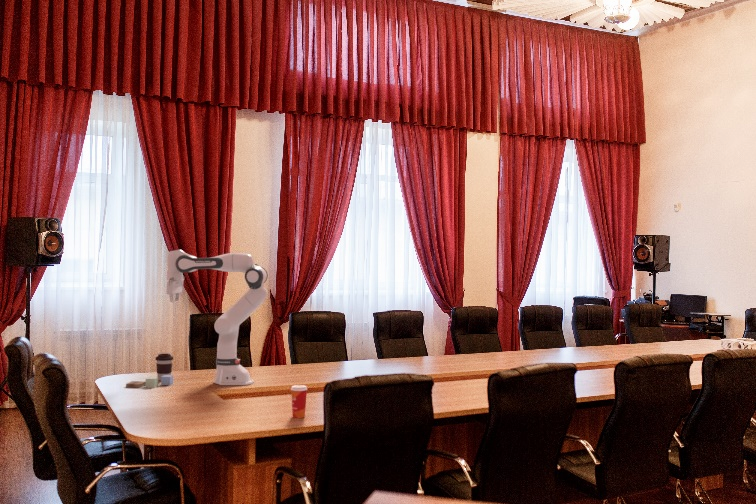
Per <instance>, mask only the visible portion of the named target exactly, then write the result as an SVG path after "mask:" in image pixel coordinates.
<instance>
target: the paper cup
mask: <svg viewBox="0 0 756 504" xmlns="http://www.w3.org/2000/svg"><path fill="white" fill-rule="evenodd" d="M290 391H291V411H292V413H291V415H292V418H294V419H303V418H305V416H306V405H307V393H308V392H307V391H308V387H307V386H306V385H304V384H303V385H301V384H296V385H295V384H294V385H292V386H291V388H290Z"/></svg>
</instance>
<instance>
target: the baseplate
mask: <svg viewBox="0 0 756 504" xmlns="http://www.w3.org/2000/svg"><path fill="white" fill-rule="evenodd" d="M143 387H146V381H138V380H137V381H136V380H135V381H134V380H132V381H130V382H126V383H125V388H128V389H129V388H131V389H132V388H133V389H134V388H135V389H141V388H143Z"/></svg>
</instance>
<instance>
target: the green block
mask: <svg viewBox="0 0 756 504" xmlns="http://www.w3.org/2000/svg"><path fill="white" fill-rule="evenodd" d="M145 382H146V385H145V388H147V389H148V388H149V389H151V388H152V389H155V388H157V387H159V380H158V377H156V376H150V377H147V378H145Z"/></svg>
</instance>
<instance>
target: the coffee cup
mask: <svg viewBox="0 0 756 504" xmlns="http://www.w3.org/2000/svg"><path fill="white" fill-rule="evenodd" d="M173 360H174V356H172V354H171V353H159V354H158V355H157V356H156V357H155V361H156V362H155V363H156V366H155V367H156V374H157V377H158V382H159V381H160V382H161V377H162V376H164V375H172V370H173Z"/></svg>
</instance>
